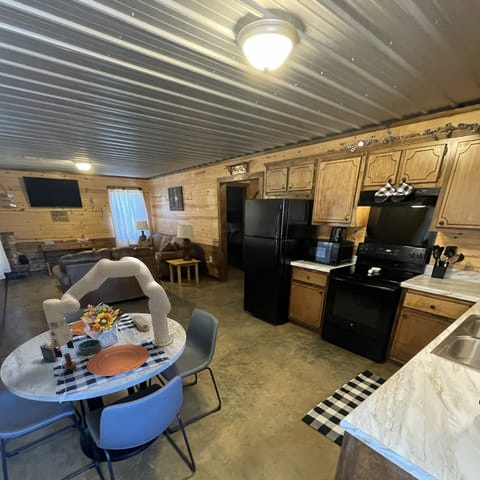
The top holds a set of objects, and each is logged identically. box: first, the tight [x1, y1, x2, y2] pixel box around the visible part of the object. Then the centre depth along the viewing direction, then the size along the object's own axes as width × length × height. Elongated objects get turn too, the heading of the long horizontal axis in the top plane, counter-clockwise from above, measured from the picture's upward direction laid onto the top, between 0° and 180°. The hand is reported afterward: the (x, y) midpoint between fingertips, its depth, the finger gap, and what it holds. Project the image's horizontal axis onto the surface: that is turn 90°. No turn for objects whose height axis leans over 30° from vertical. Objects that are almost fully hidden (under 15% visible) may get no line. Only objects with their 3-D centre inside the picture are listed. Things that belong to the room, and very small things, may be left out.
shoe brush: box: [131, 315, 150, 332], centre depth 197 cm, size 24×8×5 cm, turn 37°
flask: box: [39, 343, 59, 363], centre depth 151 cm, size 9×3×11 cm, turn 74°
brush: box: [63, 352, 77, 373], centre depth 142 cm, size 6×6×10 cm
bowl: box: [77, 339, 103, 356], centre depth 163 cm, size 12×12×4 cm
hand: (65, 352), depth 140 cm, fingers open, 9 cm apart
